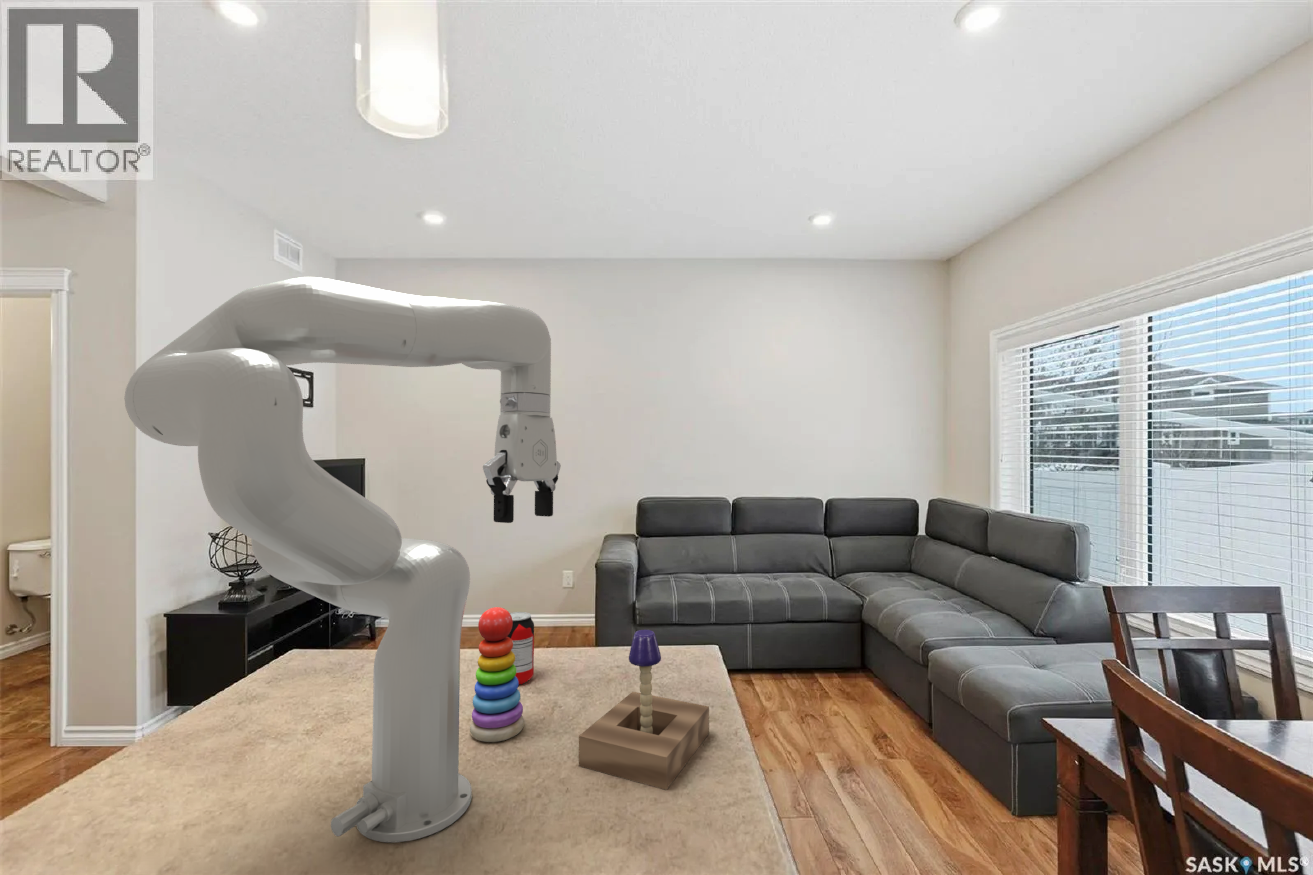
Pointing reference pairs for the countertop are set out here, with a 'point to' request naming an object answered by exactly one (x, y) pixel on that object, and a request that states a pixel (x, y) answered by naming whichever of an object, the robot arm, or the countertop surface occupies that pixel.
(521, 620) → the beverage can
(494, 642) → the stacking toy
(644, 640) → the toy lamp
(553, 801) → the countertop surface
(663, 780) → the brown flat frame block
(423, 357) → the robot arm
